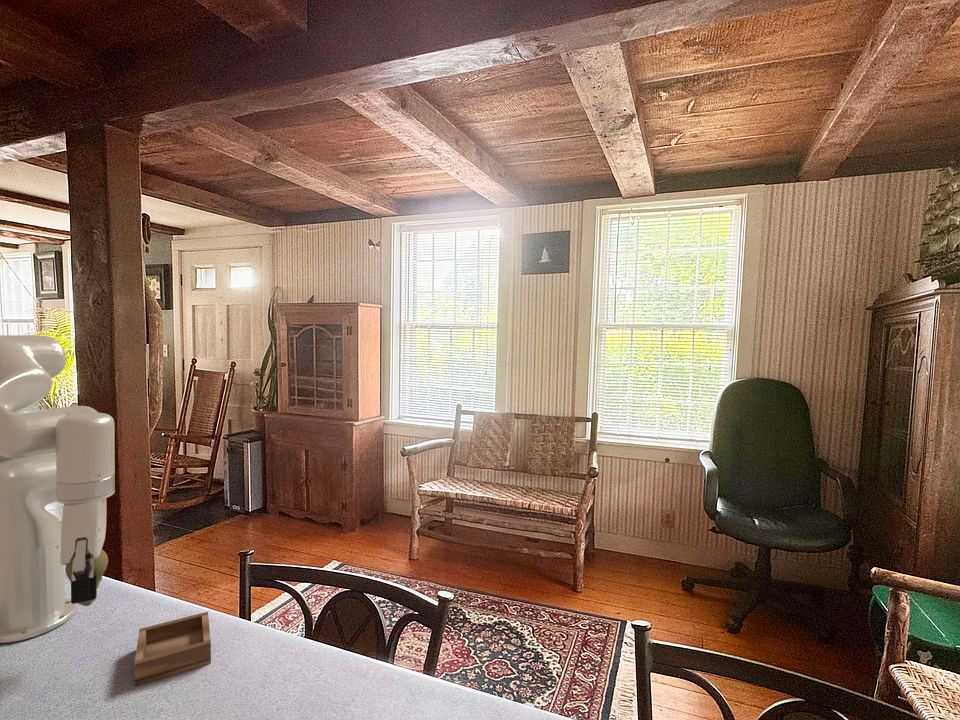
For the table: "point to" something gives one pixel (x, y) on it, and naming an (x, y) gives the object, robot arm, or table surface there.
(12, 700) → the table surface
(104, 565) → the light bulb
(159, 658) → the open wooden box
